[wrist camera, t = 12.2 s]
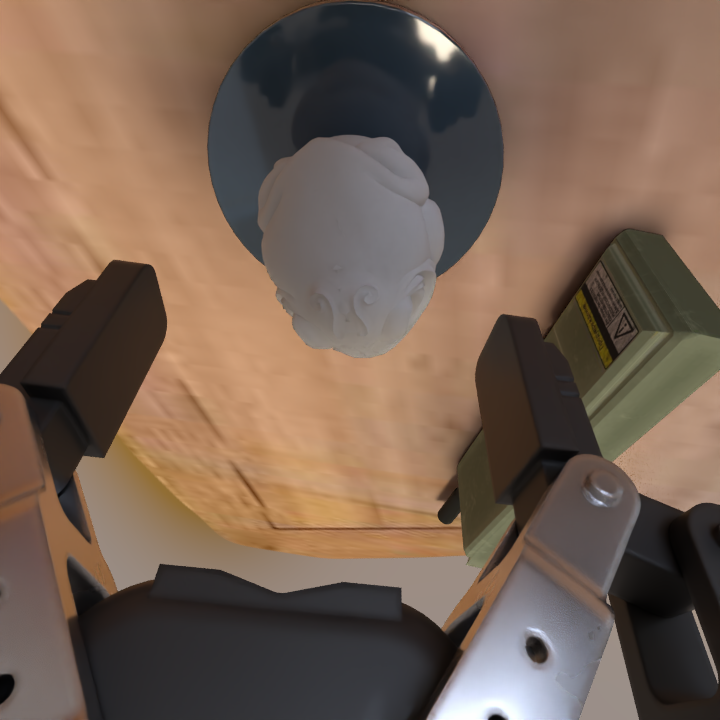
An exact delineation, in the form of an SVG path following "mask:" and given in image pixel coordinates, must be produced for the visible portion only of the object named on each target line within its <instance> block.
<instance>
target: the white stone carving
mask: <svg viewBox="0 0 720 720" xmlns="http://www.w3.org/2000/svg"><path fill="white" fill-rule="evenodd" d="M428 196H429V186H428V184H427V182H426V179H425V177H424V175H423V173H422V171H421V170H420V168H419V167H418V166H417V165H416V163H415V162H414V161H413V160H412V159H411V158H409V157H408V156H406V155H405V154H404V153H403V151H402V150H401V148H400V147H399V145H398V144H397V143H396V142H395V141H394V140H392V139H390V138H388V137H378V138H368V137H365V136H358V135H340V136H334V137H330V138H322V137H317V138H315V139H313V140H311V141H310V142H308V143H307V144H306V145H305V146H304V147H302V148H301V149H300V150H299V151H298V152H297V153H295V154H294V155H293V156H292V157H285V158H281V159H280V160H278V161H276V163H275V164H274V169H273V170H272V171H271V172H270V173H269V174H268V175H267V177H266V178H265V179H264V181H263V183H262V185H261V188H260V190H259V196H258V206H259V211H258V225H259V227H260V229H261V230H262V231H263V232H264V234H263V239H262V243H261V247H262V256H263V261H264V264H265V266H266V268H267V272H268V273H269V275H270V277H271V280H272V281H273V282H274V283H275V285H276V286H277V291H276V297H277V300H278V301H279V302H280V303H281V304H282V305H283V309H285V310H286V312H287V313H288V314H289V315H291V316H292V317H293V318H292V325H293V328H294V330H295V331H296V333H297V334H298V335H299V336H300V338H301V339H302V340H303V341H304V342H305V344H306V345H308V346H309V347H311V348H314V349H331V348H333V350H336V351H339V352H342V353H344V354H346V355H349V356H351V357H354V358H371V357H375V356H379V355H382V354H385V353H387V352H388V351H389V350H391V349H392V348H394V347H395V346H396V345H397V344H398V343H399V342H400V341H401V340H402V339H403V338H404V337H405V336H406V335H407V333H408V332H409V331H410V330H411V328H412V327H413V326H414V324H415V323H416V322H417V320H418V319H419V317H420V316H421V314H422V313H423V311H424V310H425V308H426V307H427V305H428V303H429V301H430V299H431V297H432V294H433V291H434V287H435V282H436V273H435V270H436V264H437V263H438V261H439V259H440V258H441V255H442V252H443V249H444V236H445V234H444V225H443V220H442V215H441V212H440V209H439V207H438V206H437V204H436V203H435V202H434V201H432V200H430V199H428Z"/></svg>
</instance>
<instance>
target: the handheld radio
mask: <svg viewBox="0 0 720 720" xmlns="http://www.w3.org/2000/svg"><path fill="white" fill-rule="evenodd" d="M544 342H549V343H554V345H555V346H556V347H557V348H558V349H559V351H560V352H561V353H562V354H563V355H564V357H565V358H566V359H567V360H568V363H569V366H570V368H571V371H572V374H573V377H574V383H576V385H577V388H578V390H579V393H580V395H579V398H581V399H582V401H583V404H584V407H585V410H586V412H587V415H588V418H589V421H590V423H591V426H592V429H593V432H594V434H595V437H596V440H597V443H598V445H599V448H600V451H601V454H602V456H603V458H605V459H607V460H609V461H611V462H612V461H614V460H615V459H616V458H617V457H618V456H619V455H621V454H622V453H623V452H624V451H625V450H627V449H628V448H629V447H630V446H631V445H632V444H634V443H635V442H636V441H637V440H638V439H639V438H641V437H642V436H643V435H644V434H645V433H646V432H648V431H649V430H650V429H651V428H652V427H653V426H655V425H656V424H657V423H658V422H659V421H661V420H662V419H663V418H664V417H665V416H666V415H668V414H669V413H670V412H671V411H672V410H673V409H675V408H676V407H677V406H678V405H679V404H680V403H682V402H683V401H684V400H685V399H686V398H687V397H689V396H690V395H691V394H692V393H693V392H695V391H696V390H697V389H698V388H699V387H700V386H702V385H703V384H704V383H705V382H706V381H707V380H709V379H710V378H711V377H712V376H713V375H714V374H716V373H717V372H718V371H719V370H720V309H719V308H718V307H717V306H716V304H715V303H714V302H713V300H712V299H711V298H710V296H709V295H708V294H707V293H706V291H705V290H704V289H703V287H702V286H701V285H700V283H699V282H698V281H697V280H696V278H695V277H694V276H693V274H692V273H691V272H690V270H689V269H688V268H687V266H686V265H685V264H684V263H683V261H682V260H681V259H680V257H679V256H678V255H677V253H676V252H675V251H674V250H673V248H672V247H671V246H670V244H669V243H668V242H667V240H666V239H665V238H664V237H663V235H658V234H653V233H648V232H643V231H638V230H633V229H627V230H624V231H623V232H622V233H620V234H619V235H618V236H616V237H615V239H614V240H613V241H612V243H611V244H610V245H609V247H608V248H607V249H606V251H605V252H604V253H603V255H602V256H601V258H600V259H599V261H598V262H597V264H596V265H595V267H594V268H593V269H592V271H591V272H590V274H589V275H588V277H587V278H586V280H585V281H584V282H583V284H582V285H581V287H580V288H579V290H578V291H577V293H576V294H575V295H574V297H573V298H572V300H571V301H570V303H569V304H568V306H567V307H566V308H565V310H564V311H563V313H562V314H561V316H560V317H559V319H558V320H557V322H556V323H555V324H554V326H553V328H552V329H551V331H550V332H549V334H548V335H547V337H546V338H545V339H544ZM457 473H458V485H459V487H458V488H456V489H455V490H454V492H453V493H452V494H451V496H450V497H449V498H448V500H447V501H446V502H445V504H444V505H443V506H442V508H441V509H440V510H439V512H438V518H439V520H440V521H441V522H442V523H444V524H450V523H452V522H453V520H454V519H455V518H456V517H457V515H458V514H459V513H460V512H461V523H462V536H463V548H464V551H465V553H466V556H467V557H469V559H468V562H467V564H466V565H469V566H474V567H478V568H483V567H484V565H485V563H486V562H487V560H488V559H489V557H490V555H491V554H492V552H493V550H494V549H495V547H496V546H497V544H498V542H499V541H500V539H501V538H502V536H503V534H504V533H505V531H506V530H507V528H508V526H509V525H510V523H511V522H512V521H513V519H514V518H515V514H514V509H513V505H505V504H496V503H495V499H494V493H493V487H492V481H491V475H490V469H489V462H488V456H487V450H486V444H485V438H484V432H483V429H482V431H481V432H480V433H479V435H478V436H477V438H476V439H475V441H474V442H473V444H472V445H471V446H470V448H469V449H468V451H467V452H466V454H465V455H464V457H463V458H462V459H461V461H460V462H459V464H458V466H457Z"/></svg>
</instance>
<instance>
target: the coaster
mask: <svg viewBox="0 0 720 720" xmlns="http://www.w3.org/2000/svg"><path fill="white" fill-rule="evenodd" d="M340 135H358V136H365V137H368V138H378V137H388V138H390V139H392V140H394V141H395V142H396V143H397V144H398V145H399V147H400V148H401V150H402V151H403V153H404V154H405V155H406V156H408V157H409V158H411V159H412V160H413V161H414V162H415V163H416V165H417V166H418V167H419V168H420V170H421V171H422V173H423V175H424V177H425V179H426V182H427V184H428V186H429V196H428V199H430V200H432V201H434V202H435V203H436V204H437V206H438V207H439V209H440V212H441V215H442V220H443V225H444V234H445V236H444V249H443V252H442V255H441V258H440V259H439V261H438V263H437V264H436V270H435V273H436V278H437V277H438V276H440V275H441V274H443V273H444V272H446V271H447V270H448V269H449V268H450V267H452V266H453V265H454V264H455V263H457V262H458V261H459V260H460V259H461V257H462V256H463V255H464V254H465V253H466V252H467V251H468V250H469V249H470V248H471V246H472V245H473V244H474V242H475V241H476V240H477V238H478V237H479V236H480V234H481V232H482V230H483V229H484V227H485V225H486V224H487V222H488V220H489V218H490V215H491V213H492V211H493V208H494V206H495V204H496V200H497V197H498V193H499V190H500V186H501V180H502V173H503V163H504V144H503V136H502V128H501V123H500V119H499V115H498V111H497V108H496V104H495V102H494V99H493V97H492V95H491V92H490V90H489V88H488V85H487V83H486V81H485V80H484V78H483V76H482V75H481V73H480V71H479V70H478V68H477V66H476V65H475V63H474V61H473V60H472V59H471V58H470V57H469V55H468V54H467V53H466V52H465V51H464V49H463V48H462V47H461V46H460V45H459V43H458V42H456V41H455V40H454V39H453V38H452V37H451V36H450V35H449V34H447V33H446V32H445V31H444V30H443V29H442V28H441V27H439V26H437V25H436V24H434V23H433V22H431V21H429V20H428V19H426V18H425V17H423V16H422V15H420V14H417V13H415V12H413V11H410V10H408V9H406V8H403V7H401V6H399V5H395V4H391V3H387V2H383V1H378V0H326V1H322V2H318V3H315V4H311V5H307V6H304V7H302V8H300V9H297V10H295V11H293V12H291V13H289V14H287V15H284V16H282V17H281V18H280V19H278V20H277V21H275V22H274V23H272V24H271V25H269V26H268V27H266V28H265V29H264V30H263V31H261V32H260V33H259V34H258V35H257V36H256V37H255V38H254V39H253V40H252V41H251V42H250V43H249V44H248V45H247V46H246V47H245V48H244V49H243V50H242V52H241V53H240V54H239V56H238V57H237V58H236V60H235V61H234V62H233V63H232V65H231V66H230V68H229V70H228V72H227V74H226V75H225V77H224V79H223V81H222V83H221V85H220V87H219V90H218V93H217V95H216V98H215V101H214V104H213V107H212V112H211V117H210V121H209V127H208V142H207V150H208V165H209V171H210V176H211V181H212V185H213V188H214V191H215V195H216V198H217V201H218V203H219V206H220V208H221V210H222V212H223V214H224V216H225V218H226V220H227V222H228V223H229V225H230V227H231V228H232V230H233V232H234V233H235V235H236V236H237V237H238V239H239V240H240V241H241V242H242V244H243V245H244V246H245V247H246V249H247V250H248V251H249V252H250V253H251V254H252V255H253V256H254V257H255V258H256V259H257V260H258V261H260V262H261V263H262V264H263V265H264V266H265V264H264V261H263V256H262V247H261V243H262V239H263V234H264V232H263V231H262V230H261V229H260V227H259V225H258V211H259V206H258V196H259V190H260V188H261V185H262V183H263V181H264V179H265V178H266V177H267V175H268V174H269V173H270V172H271V171H272V170H273V169H274V164H275V163H276V161H278V160H280V159H281V158H285V157H292V156H293V155H294V154H295V153H297V152H298V151H299V150H300V149H301V148H302V147H304V146H305V145H306V144H307V143H308V142H310V141H311V140H313V139H315V138H317V137H322V138H330V137H334V136H340Z"/></svg>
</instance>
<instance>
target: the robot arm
mask: <svg viewBox="0 0 720 720" xmlns="http://www.w3.org/2000/svg"><path fill="white" fill-rule="evenodd" d="M166 330H167V316H166V312H165V308H164V304H163V300H162V296H161V292H160V288H159V284H158V281H157V277H156V273H155V270H154V268H153V267H152V266H151V265H149V264H142V263H135V262H127V261H120V260H113V261H111V262H110V263H109V264H108V266H107V267H106V268H105V270H104V271H103V272H102V274H101V275H100V276H99V278H98V279H97V280H89V279H88V280H86V281H84V282H83V283H81V284H80V285H78V286H76V287H75V288H73V289H72V290H70V291H68V292H67V293H66V294H65V295H64V296H63V297H62V299H61V300H60V301H59V302H58V304H57V305H56V306H55V307H54V308H53V312H52V314H51V313H49V315H48V316H47V317H46V318H45V320H44V321H43V322H42V323H41V328H37V330H36V331H35V332H34V333H33V334H32V336H31V337H30V338H29V340H28V341H27V342H26V343H25V344H24V346H23V347H22V348H21V349H20V351H19V352H18V353H17V354H16V356H15V357H14V358H13V359H12V360H11V362H10V363H9V364H8V366H7V367H6V368H5V369H4V370H3V372H2V373H1V374H0V720H579V718H580V715H581V712H582V709H583V707H584V704H585V701H586V698H587V695H588V693H589V690H590V688H591V685H592V682H593V679H594V676H595V674H596V671H597V668H598V666H599V663H600V660H601V658H602V655H603V652H604V649H605V647H606V644H607V641H608V638H609V636H610V633H611V630H612V627H613V623H614V620H615V624H616V628H617V632H618V636H619V640H620V644H621V648H622V652H623V656H624V660H625V664H626V668H627V672H628V676H629V680H630V684H631V688H632V692H633V696H634V700H635V704H636V708H637V713H638V717H639V720H720V505H717V504H713V503H701V504H698V505H696V506H694V507H693V508H691V509H689V510H688V511H686V512H683V511H680V510H678V509H675V508H673V507H671V506H668V505H666V504H663V503H661V502H659V501H656V500H654V499H651V498H649V497H646V496H644V495H642V494H640V493H638V491H637V489H636V487H635V485H634V483H633V482H632V480H631V479H630V478H629V477H628V475H627V474H626V473H625V472H624V471H623V470H622V469H620V468H619V467H618V466H617V465H615V464H614V463H612V462H611V461H609V460H607V459H605V458H603V456H602V454H601V451H600V448H599V445H598V443H597V440H596V437H595V434H594V432H593V429H592V426H591V423H590V421H589V418H588V415H587V412H586V410H585V407H584V404H583V401H582V399H581V398H579V395H580V393H579V390H578V388H577V385H576V383H574V377H573V374H572V371H571V368H570V366H569V363H568V360H567V359H566V358H565V357H564V355H563V354H562V353H561V352H560V351H559V349H558V348H557V347H556V346H555V345H554V343H549V342H544V340H543V337H542V334H541V331H540V328H539V325H538V322H537V321H536V320H535V319H534V318H527V317H520V316H512V315H505V314H502V315H501V316H500V317H499V318H498V319H497V321H496V323H495V325H494V327H493V330H492V332H491V334H490V336H489V338H488V340H487V342H486V344H485V346H484V348H483V350H482V352H481V354H480V356H479V359H478V362H477V366H476V373H475V382H476V388H477V394H478V401H479V407H480V413H481V419H482V425H483V432H484V438H485V444H486V450H487V456H488V462H489V469H490V475H491V481H492V487H493V493H494V499H495V503H496V504H505V505H513V509H514V514H515V518H514V519H513V521H512V522H511V523H510V525H509V526H508V528H507V530H506V531H505V533H504V534H503V536H502V538H501V539H500V541H499V542H498V544H497V546H496V547H495V549H494V550H493V552H492V554H491V555H490V557H489V559H488V560H487V562H486V563H485V565H484V567H483V568H482V570H481V571H480V573H479V575H478V576H477V578H476V580H475V581H474V583H473V584H472V586H471V587H470V589H469V590H468V592H467V593H466V594H465V595H464V597H463V598H462V599H461V600H460V602H459V603H458V604H457V606H456V607H455V609H454V610H453V612H452V613H451V614H450V616H449V617H448V619H447V620H446V622H445V624H444V625H443V627H442V628H440V627H439V626H438V625H436V624H435V623H434V622H433V621H432V620H430V619H429V618H428V617H426V616H425V615H424V614H422V613H420V612H419V611H417V610H416V609H414V608H412V607H410V606H408V605H406V604H404V603H402V602H401V588H398V587H388V586H378V585H367V584H357V583H347V582H341V583H337V584H331V585H325V586H320V587H315V588H310V589H304V590H299V591H293V592H288V593H276V592H273V591H271V590H268V589H266V588H264V587H261V586H259V585H256V584H254V583H251V582H249V581H246V580H244V579H242V578H239V577H237V576H234V575H232V574H229V573H227V572H224V571H221V570H216V569H205V568H196V567H186V566H175V565H165V564H160V565H159V568H158V571H157V574H156V577H155V580H150V581H146V582H143V583H140V584H136V585H133V586H130V587H128V588H125V589H123V590H121V591H118V590H117V587H116V585H115V582H114V579H113V577H112V574H111V572H110V570H109V567H108V565H107V563H106V562H105V560H104V558H103V556H102V553H101V551H100V548H99V545H98V542H97V538H96V535H95V531H94V528H93V525H92V521H91V518H90V514H89V511H88V508H87V504H86V501H85V497H84V494H83V491H82V487H81V484H80V480H79V477H78V475H77V472H76V471H75V469H76V467H77V466H78V464H79V462H80V460H81V458H82V456H90V457H99V458H104V457H105V455H106V453H107V451H108V449H109V447H110V446H111V444H112V442H113V439H114V438H115V436H116V434H117V432H118V430H119V428H120V426H121V424H122V422H123V420H124V418H125V416H126V414H127V412H128V410H129V408H130V406H131V404H132V402H133V400H134V398H135V396H136V394H137V392H138V390H139V388H140V386H141V385H142V383H143V381H144V379H145V377H146V375H147V373H148V371H149V369H150V367H151V365H152V363H153V361H154V359H155V357H156V355H157V353H158V351H159V349H160V347H161V345H162V343H163V341H164V338H165V335H166ZM607 594H608V596H609V600H610V604H611V606H610V605H609V604H607V603H606V598H607ZM694 609H695V611H696V614H697V616H698V619H699V621H700V624H701V627H702V630H703V632H704V635H705V638H706V641H707V644H708V646H709V649H710V652H711V655H712V657H713V660H714V663H715V666H716V669H717V673H718V679H719V683H717V680H716V677H715V675H714V672H713V669H712V666H711V664H710V661H709V658H708V655H707V652H706V650H705V647H704V644H703V641H702V638H701V636H700V633H699V630H698V627H697V625H696V622H695V619H694V616H693V613H692V610H694Z"/></svg>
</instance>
